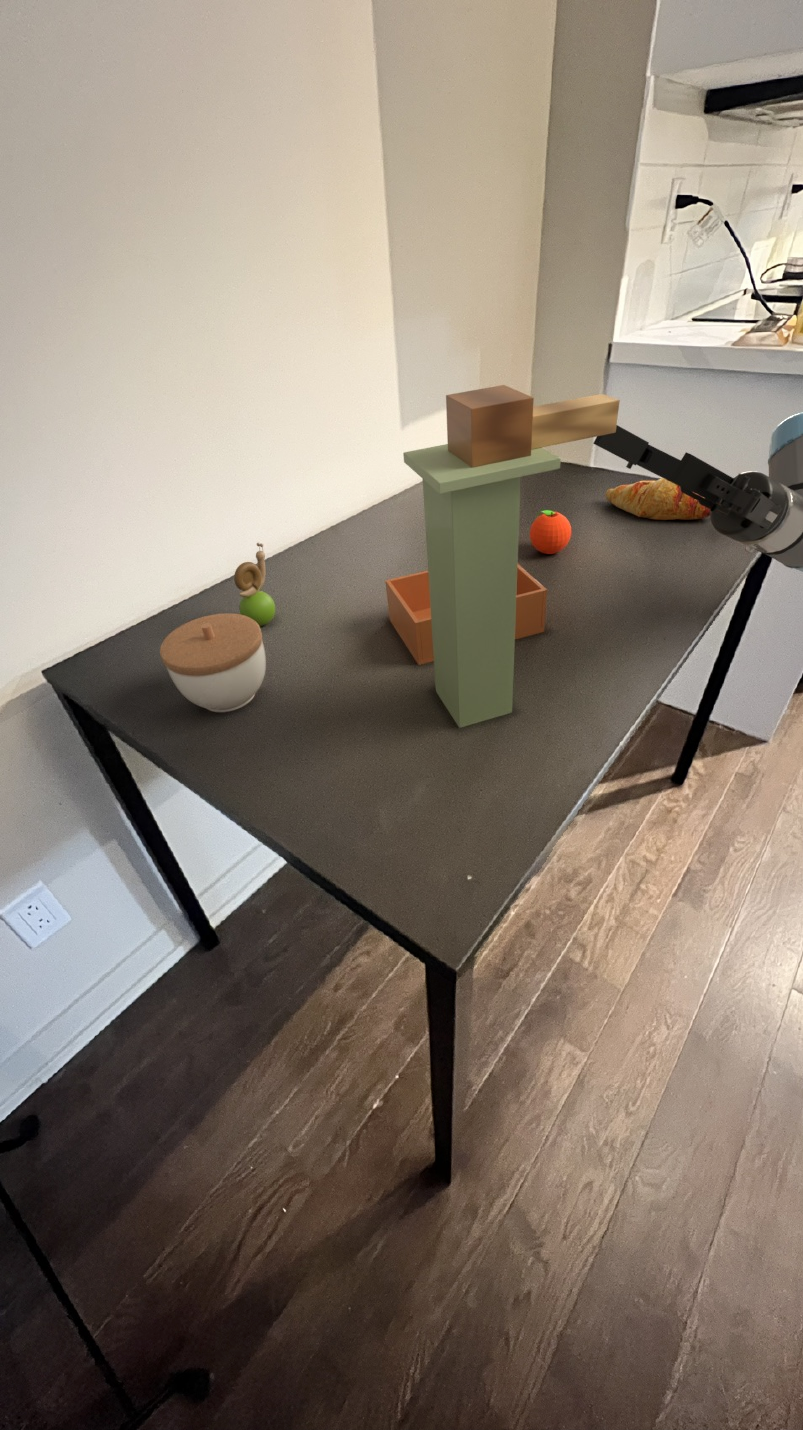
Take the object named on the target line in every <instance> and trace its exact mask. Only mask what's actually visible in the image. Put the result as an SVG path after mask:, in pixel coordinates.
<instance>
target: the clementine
mask: <svg viewBox="0 0 803 1430" xmlns="http://www.w3.org/2000/svg"><path fill="white" fill-rule="evenodd" d="M541 513H542V514H541ZM539 514H540V515H539ZM571 537H572V526H571V523H570V521H569V520H568V519H567V517H566V516H565V515H563V514H562V513H560V512H558V511H553V510H549V509H545V510H541V511H539V512H537V513H536V515H535V519H534V521H533V522H532V524H531V526H530V530H529V540H530V542H531V544H532V546H533V548H535V550H537V551H538V552H540V553H542V554H546V555H553V554H556V553H559V552H561V551H563V550H564V549H565V548H566V546H567V545H568V544H569V542H570V540H571Z"/></svg>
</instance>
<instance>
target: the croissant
mask: <svg viewBox="0 0 803 1430" xmlns="http://www.w3.org/2000/svg"><path fill="white" fill-rule="evenodd" d="M693 493H694V492H693ZM695 494H696V493H695ZM697 495H698V494H697ZM699 496H700V495H699ZM701 497H702V496H701ZM605 498H606V500H607V501H609V502H610V504H612V505H613V506H615V507H616V508H618V509H620V510H622V511H625V512H627V513H629V514H631V515H634V516H637V517H638V518H645V519H650V520H655V521H656V520H657V521H667V520H673V521H674V520H684V521H688V520H689V521H690V520H699V519H700V520H702V519H705V518H707V517H710V510H711V509H709V508H707V507H705V506H703V505H701V504H699V502H698V500H696V499H694V498H692V497H690V496H688V495H686V494H684V493H682V492H681V491H680V486H678V485H676V484H674V483H672V482H670V481H668V480H666V479H664V478H662V477H660V478H658V479H657V480H640V481H637V482H635V483H630V484H621V485H619V486H616V487H615V488H608V489H607V490H606V492H605ZM703 498H704V497H703Z"/></svg>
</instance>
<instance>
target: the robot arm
mask: <svg viewBox="0 0 803 1430" xmlns="http://www.w3.org/2000/svg"><path fill="white" fill-rule="evenodd" d="M593 445H595V446H597V447H599V448H601V449H602V450H604V451H606V452H609V453H610V454H612V455H614V456H616V457H618V458H620V459H622V460H624V461H626V462H627V464H626V465H625V468H627V469H629V470H631V469H632V467H633V466H638V467H640V468H643V469H644V470H647V471H648V472H650V473H652V474H654V475H656V476H657V477H660V478H664V479H666V480H668V481H670V482H672V483H674V484H676V485H678V486H680V491H681V492H682V493H684V494H686V495H688V496H690V497H692V498H694V499H696V500H698V502H699V504H701V505H703V506H705V507H707V508H709V509H711V510H710V516H709V518H710V523H711V526H712V527H713V529H714V530H715V531H716V532H718V533H719V534H721V535H723V536H725V537H726V538H727V537H728V538H729V539H731V540H733V541H736V542H739V543H741V544H743V545H745V546H746V547H745V549H744V551H745V552H746V553H747V554H748V553H749V554H752V553H753V552H754V551H757V552H759V553H761V554H763V555H766V556H768V557H770V558H771V559H773V560H775V561H777V562H779V563H780V564H782V565H783V566H784V567H786V568H788V569H794V570H796V571H797V570H798V571H800V572H803V411H802V412H798V413H796V414H793V415H791V416H789V417H787V418H785V419H784V420H783V421H782V422H780V423H779V424H778V425H777V426H776V427H775V428H774V429H773V431H772V434H771V437H770V444H769V451H768V453H769V454H768V459H767V466H768V475H767V474H765V473H763V472H761V471H756V470H750V471H749V470H748V471H745V472H744V471H743V472H741V473H740V472H739V473H738V474H737V475H735V476H733V477H732V476H730V475H729V474H727V473H725V472H723V471H721V470H720V469H718V468H717V467H715V466H713V465H711V464H710V463H707V462H705V460H702V459H701V458H698V457H697V456H695V455H693V454H691V453H690V452H687V451H685V453H684V454H683V456H682V458H681V459H679V458H677V457H675V456H673V455H671V454H669V453H667V452H665V451H663V450H661V449H659V448H657V447H655V446H653V445H652V444H650V442H648V441H647V440H645V439H643V438H642V437H640V436H638V435H636V434H634V433H632V432H630V431H629V430H627V429H625V428H623V427H622V426H619V425H618V424H617V425H616V432H615V433H611V434H606V435H601V436H596V437H595V439H594V441H593ZM693 492H694V493H693ZM695 493H696V494H695ZM697 494H698V495H697ZM699 495H700V496H699ZM701 496H702V497H701ZM703 497H704V498H703Z"/></svg>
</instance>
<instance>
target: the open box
mask: <svg viewBox="0 0 803 1430" xmlns="http://www.w3.org/2000/svg"><path fill="white" fill-rule="evenodd" d="M385 591H386V599H387V600H386V601H387V608H388V617H389V618H388V619H389V622H390V624H391V625H392V626H393V628H394V629H395V631H396V632H397V634H398V635H399V637H400V638H401V640H402V642H403V643H404V645H405V647H406V648H407V649H408V651H409V652H410V654H411V655H412V657H413V659H414V660H415V662H416V663H417V665H418V666H421V665H424V664H427V663H428V664H429V663H432V662H434V655H433V639H432V623H431V607H430V591H429V575H428V570H423V571H419V572H415V573H412V574H406V575H402V576H398V577H394V578H390V579H385ZM547 598H548V589H547V588H546V587H544V585H542V584H541V583H540V582H539V581H538V580H537V579H535V578H534V577H533V576H532V575H531V574H530V573H529V572H527V570H525V569H524V568H523V567H522V566H521V565H520V564H519V563H518V564H517V591H516V618H515V640H518V639H521V638H525V637H530V636H533V635H534V636H535V635H537V634H540V633H544V632H545V625H546V612H547V611H546V610H547V609H546V608H547V600H548V599H547Z"/></svg>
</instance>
